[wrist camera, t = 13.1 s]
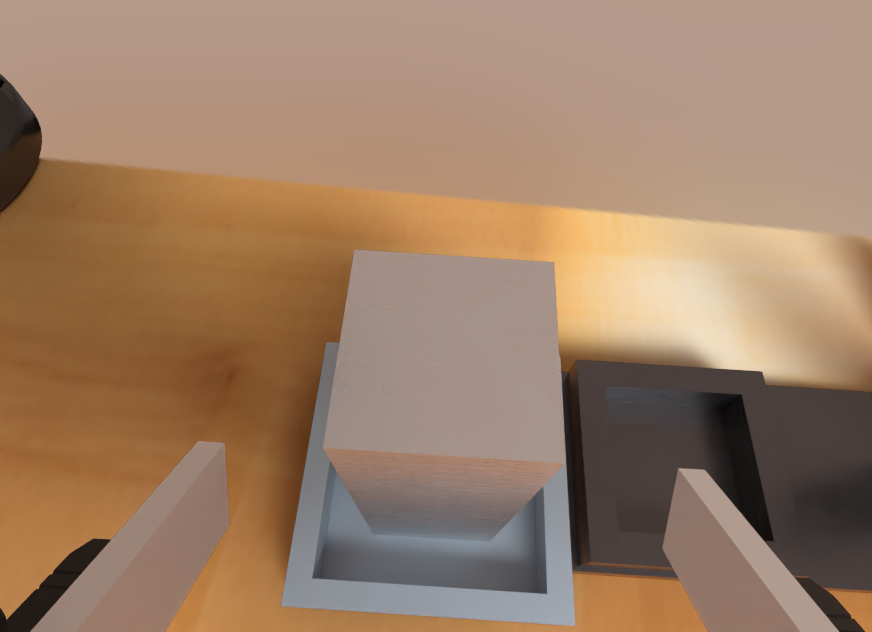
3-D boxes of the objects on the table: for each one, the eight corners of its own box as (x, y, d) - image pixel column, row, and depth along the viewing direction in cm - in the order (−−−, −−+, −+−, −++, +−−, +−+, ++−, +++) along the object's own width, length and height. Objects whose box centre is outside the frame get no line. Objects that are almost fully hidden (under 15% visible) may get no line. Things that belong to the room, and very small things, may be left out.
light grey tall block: (373, 534, 24) (323, 447, 11) (385, 422, 26) (354, 249, 14) (489, 542, 24) (564, 463, 11) (490, 428, 26) (554, 262, 14)
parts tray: (296, 607, 23) (280, 606, 20) (335, 366, 28) (326, 341, 26) (557, 624, 23) (575, 625, 20) (547, 380, 28) (560, 356, 26)
